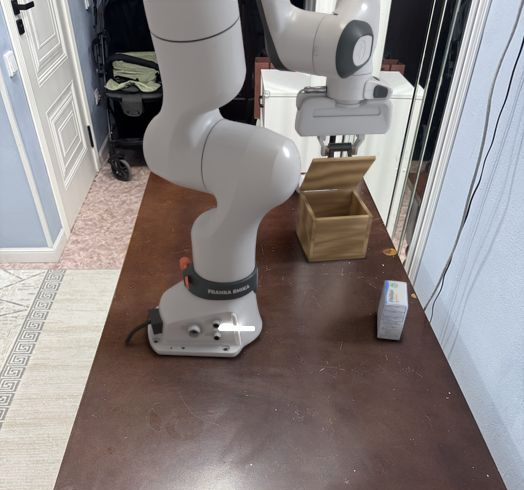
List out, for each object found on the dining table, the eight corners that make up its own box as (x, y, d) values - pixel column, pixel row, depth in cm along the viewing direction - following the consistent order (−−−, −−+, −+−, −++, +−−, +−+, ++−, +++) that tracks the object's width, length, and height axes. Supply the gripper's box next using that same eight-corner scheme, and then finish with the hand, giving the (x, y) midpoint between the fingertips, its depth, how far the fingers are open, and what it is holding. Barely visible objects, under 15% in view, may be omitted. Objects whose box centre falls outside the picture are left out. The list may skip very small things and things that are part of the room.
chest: (364, 257, 118) (372, 216, 110) (308, 262, 116) (312, 219, 108) (348, 228, 128) (354, 188, 120) (296, 232, 126) (299, 191, 118)
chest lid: (376, 159, 105) (373, 136, 106) (313, 161, 103) (310, 138, 104) (355, 188, 120) (352, 168, 120) (299, 191, 118) (297, 171, 118)
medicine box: (399, 341, 96) (409, 306, 90) (376, 338, 97) (384, 303, 91) (398, 316, 102) (407, 281, 96) (376, 313, 102) (384, 279, 96)
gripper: (300, 91, 95) (295, 162, 105) (401, 89, 98) (387, 158, 107) (293, 82, 100) (289, 151, 109) (389, 80, 102) (377, 147, 112)
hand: (338, 154), depth 108 cm, fingers closed on chest lid, 5 cm apart
